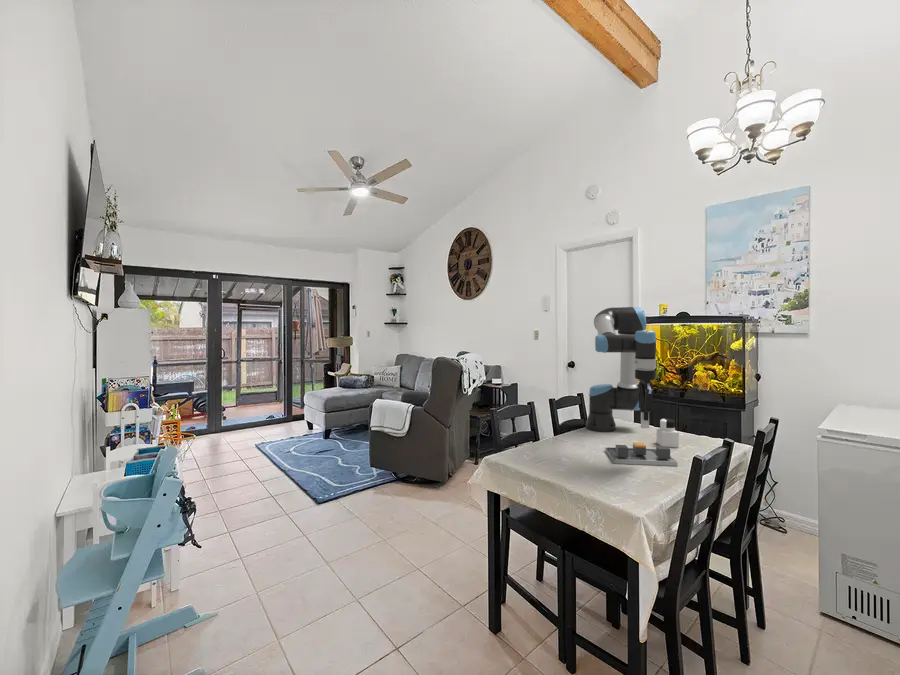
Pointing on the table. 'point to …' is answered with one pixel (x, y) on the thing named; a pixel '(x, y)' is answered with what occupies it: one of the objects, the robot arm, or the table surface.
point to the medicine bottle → (667, 434)
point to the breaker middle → (639, 448)
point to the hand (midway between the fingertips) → (644, 427)
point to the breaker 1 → (622, 451)
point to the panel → (640, 458)
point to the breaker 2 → (662, 452)
